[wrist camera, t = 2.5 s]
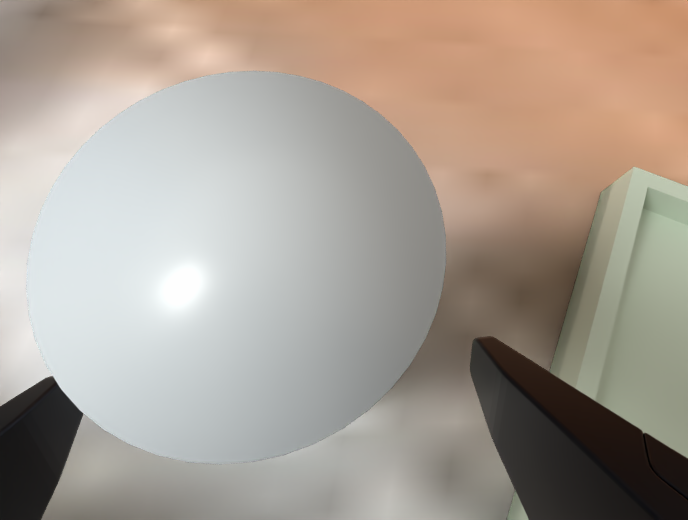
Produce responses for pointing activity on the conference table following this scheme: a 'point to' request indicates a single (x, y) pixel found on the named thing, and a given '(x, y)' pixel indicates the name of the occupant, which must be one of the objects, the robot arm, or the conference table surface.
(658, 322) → the tray
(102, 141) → the white rounded capsule
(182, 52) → the conference table surface
